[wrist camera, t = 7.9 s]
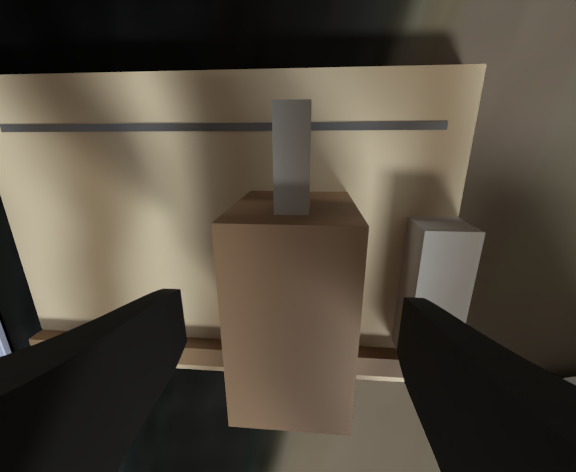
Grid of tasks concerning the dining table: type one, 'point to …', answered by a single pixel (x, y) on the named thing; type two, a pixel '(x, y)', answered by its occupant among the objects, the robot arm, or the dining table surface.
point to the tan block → (291, 293)
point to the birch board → (233, 186)
